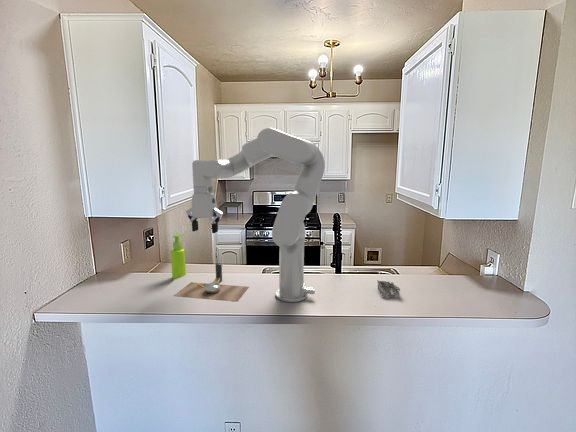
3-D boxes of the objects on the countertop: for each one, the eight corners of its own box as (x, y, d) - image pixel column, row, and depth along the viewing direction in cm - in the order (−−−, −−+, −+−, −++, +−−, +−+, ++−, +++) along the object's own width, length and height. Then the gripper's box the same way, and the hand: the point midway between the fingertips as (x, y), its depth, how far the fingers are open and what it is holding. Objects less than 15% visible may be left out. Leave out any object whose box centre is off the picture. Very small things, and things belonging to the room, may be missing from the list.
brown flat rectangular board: (249, 290, 125) (249, 286, 125) (237, 305, 111) (237, 300, 111) (191, 285, 130) (191, 281, 129) (173, 299, 116) (173, 295, 116)
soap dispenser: (189, 274, 142) (186, 233, 139) (182, 280, 136) (180, 236, 132) (177, 274, 143) (174, 233, 140) (170, 279, 136) (167, 236, 133)
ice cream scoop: (218, 293, 117) (217, 275, 116) (202, 293, 117) (202, 275, 116) (226, 279, 132) (226, 263, 131) (213, 278, 132) (212, 263, 131)
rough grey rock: (400, 299, 117) (401, 289, 116) (380, 298, 118) (381, 288, 117) (394, 288, 127) (395, 279, 126) (376, 287, 128) (376, 278, 127)
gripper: (226, 190, 124) (227, 231, 127) (191, 189, 130) (193, 228, 133) (216, 192, 117) (217, 235, 120) (179, 190, 123) (182, 231, 126)
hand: (205, 231), depth 126 cm, fingers open, 9 cm apart
